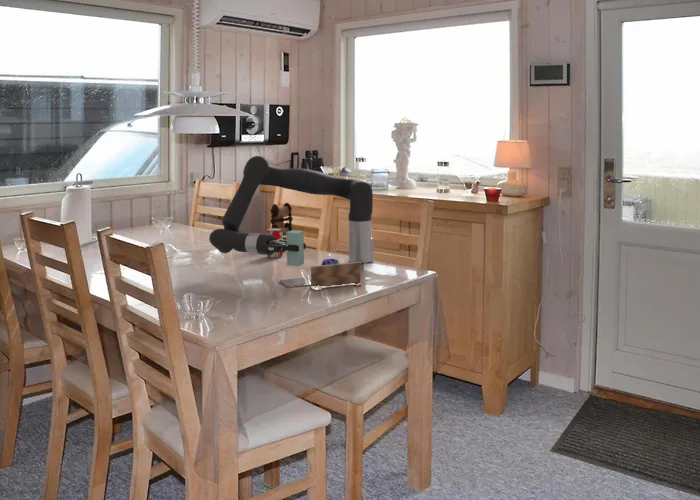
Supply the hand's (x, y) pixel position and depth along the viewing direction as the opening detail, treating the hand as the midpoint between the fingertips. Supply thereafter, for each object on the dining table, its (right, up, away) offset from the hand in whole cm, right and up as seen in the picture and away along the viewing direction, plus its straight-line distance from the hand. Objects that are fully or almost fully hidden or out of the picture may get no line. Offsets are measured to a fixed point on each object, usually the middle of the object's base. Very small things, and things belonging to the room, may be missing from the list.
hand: (301, 247), depth 258 cm
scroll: (-14, 0, +73) cm, 74 cm away
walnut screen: (+12, -14, -2) cm, 19 cm away
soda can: (-15, -4, +51) cm, 53 cm away
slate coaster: (-2, -13, +4) cm, 14 cm away
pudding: (+10, -10, +20) cm, 24 cm away
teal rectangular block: (-2, -6, +2) cm, 7 cm away
